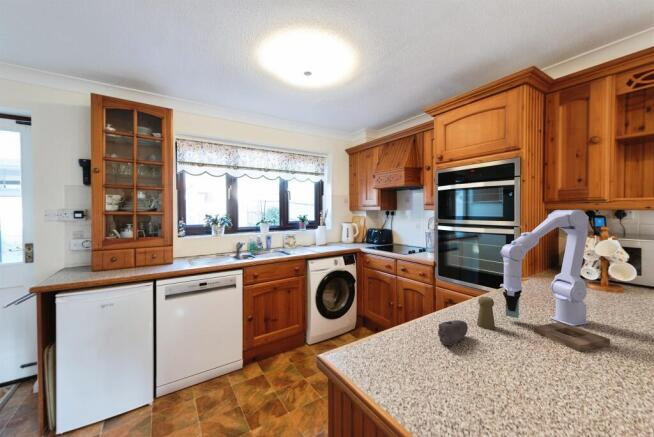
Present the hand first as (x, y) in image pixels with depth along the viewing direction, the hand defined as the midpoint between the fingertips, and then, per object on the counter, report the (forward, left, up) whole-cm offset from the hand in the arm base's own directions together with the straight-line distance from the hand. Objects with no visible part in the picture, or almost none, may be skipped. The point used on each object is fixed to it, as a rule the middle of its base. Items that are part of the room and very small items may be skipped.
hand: (512, 309), depth 104 cm
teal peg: (0, 0, -3) cm, 2 cm away
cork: (+13, 0, -5) cm, 14 cm away
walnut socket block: (-6, +16, -5) cm, 18 cm away
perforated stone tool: (+33, +6, -5) cm, 34 cm away
